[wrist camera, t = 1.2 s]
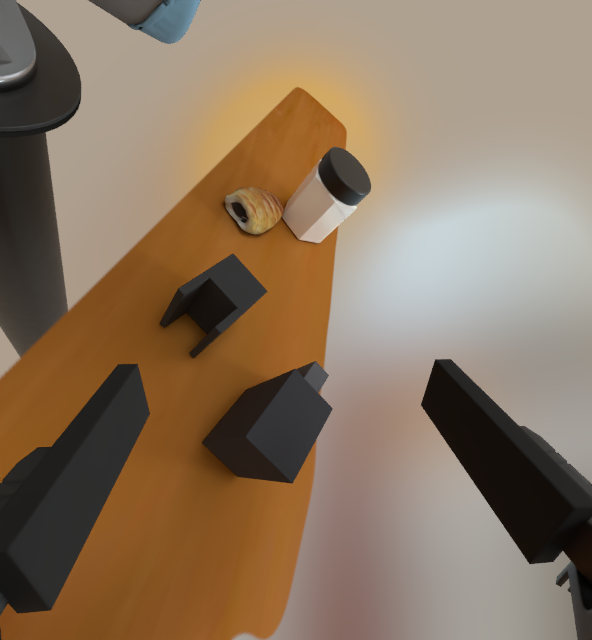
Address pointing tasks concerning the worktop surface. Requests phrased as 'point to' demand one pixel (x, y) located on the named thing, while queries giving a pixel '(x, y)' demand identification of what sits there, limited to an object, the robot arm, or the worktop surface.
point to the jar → (326, 196)
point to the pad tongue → (272, 426)
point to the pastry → (254, 209)
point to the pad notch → (215, 299)
